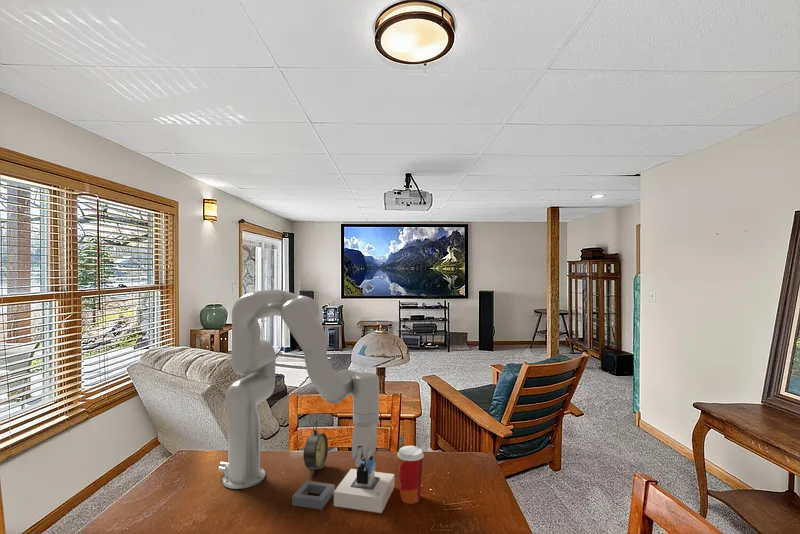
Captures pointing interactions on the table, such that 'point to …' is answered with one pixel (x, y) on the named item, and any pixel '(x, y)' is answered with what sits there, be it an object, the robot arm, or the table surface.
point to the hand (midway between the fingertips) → (365, 477)
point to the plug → (370, 473)
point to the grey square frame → (313, 501)
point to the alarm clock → (315, 450)
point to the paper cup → (410, 473)
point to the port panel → (364, 492)
